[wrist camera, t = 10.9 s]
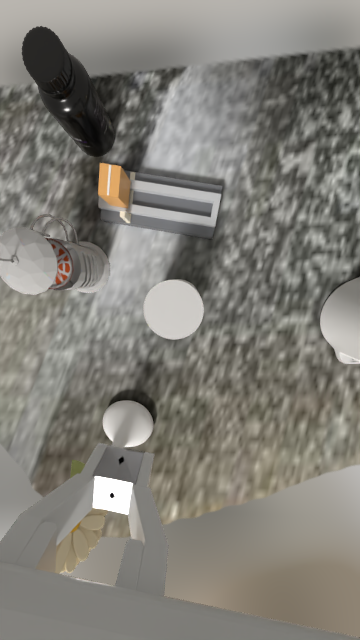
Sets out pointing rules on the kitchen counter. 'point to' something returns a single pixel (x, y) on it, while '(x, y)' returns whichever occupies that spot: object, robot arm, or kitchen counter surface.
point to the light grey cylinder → (173, 309)
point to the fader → (114, 185)
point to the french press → (50, 261)
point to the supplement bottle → (68, 91)
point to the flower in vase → (122, 428)
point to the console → (167, 205)
